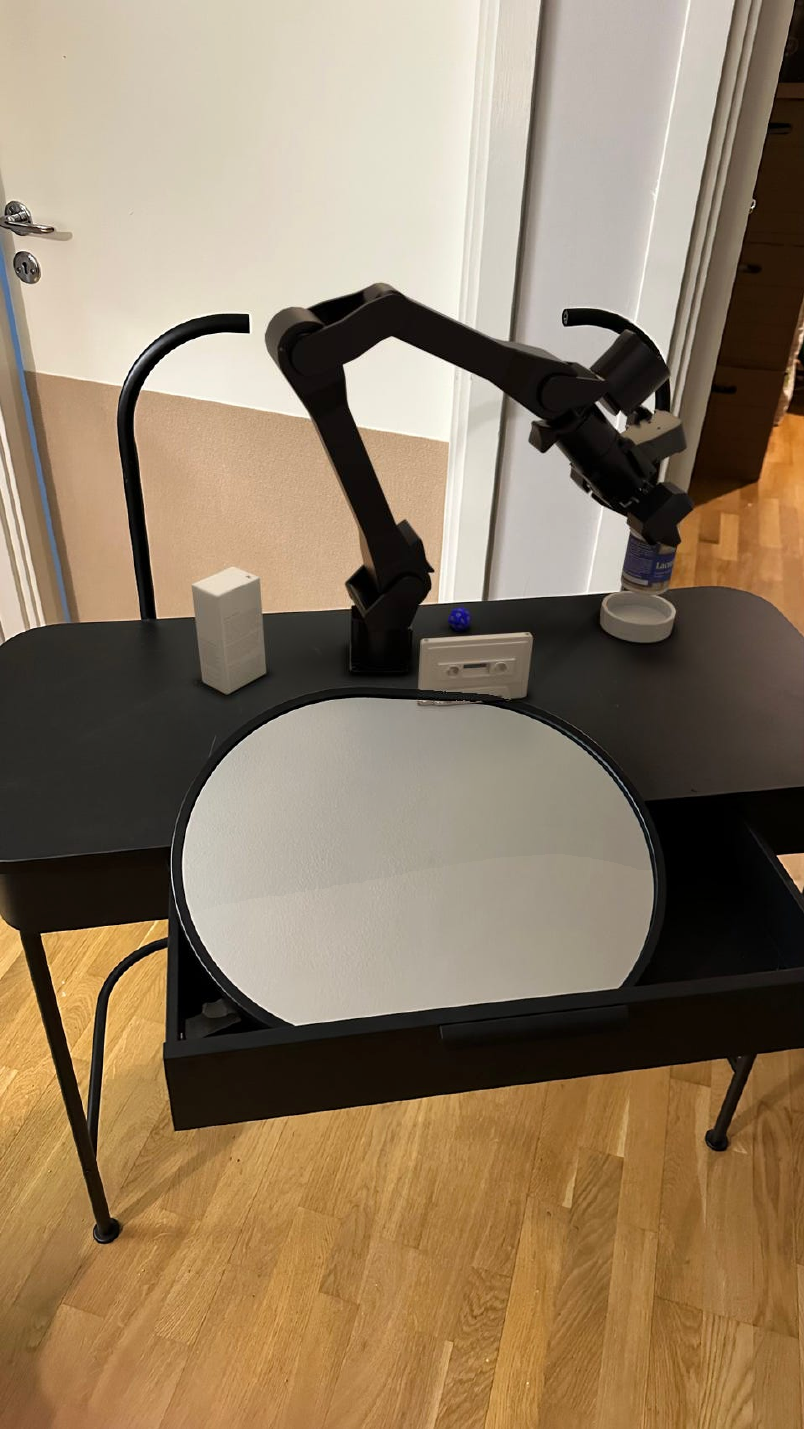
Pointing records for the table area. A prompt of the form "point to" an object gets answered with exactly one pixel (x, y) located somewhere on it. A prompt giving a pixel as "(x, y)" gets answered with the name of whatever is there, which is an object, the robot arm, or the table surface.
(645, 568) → the pill bottle
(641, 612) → the dish
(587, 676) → the table surface
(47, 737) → the table surface
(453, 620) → the die
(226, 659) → the cosmetic box
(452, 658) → the cassette
